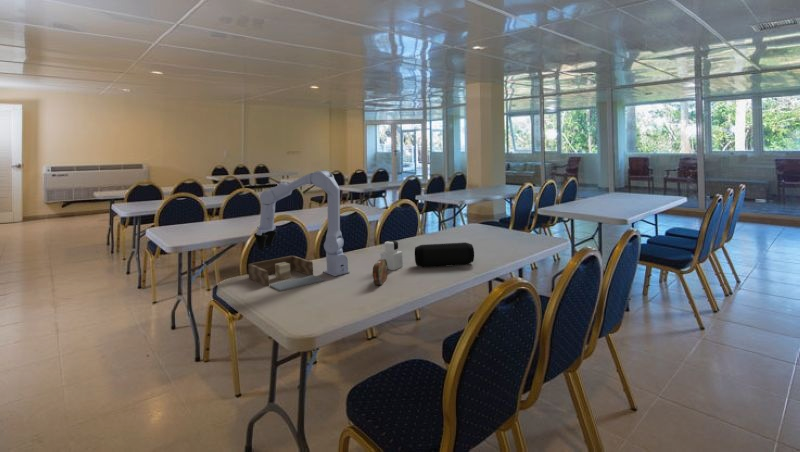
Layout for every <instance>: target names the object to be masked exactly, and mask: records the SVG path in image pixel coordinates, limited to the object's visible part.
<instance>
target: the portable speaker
mask: <svg viewBox="0 0 800 452" xmlns="http://www.w3.org/2000/svg"><path fill="white" fill-rule="evenodd" d="M474 261H475V250H474V245H473V244H472V243H468V242H450V243H433V244H432V243H429V244H428V243H427V244H420V245H417V246H415V248H414V263H415V265H416V266H417V267H421V268H432V267H433V268H435V267H434V266H436V267H447V266H446V265H453V266H465V265H466V264H467V265H469V264H471V263H473V262H474Z"/></svg>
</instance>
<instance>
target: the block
mask: <svg viewBox="0 0 800 452" xmlns="http://www.w3.org/2000/svg"><path fill="white" fill-rule="evenodd" d="M275 272H276V273H275V278H276V279H278V280H280V281H283V280H286V279H287V280H288V279H290V278H292V275H291V270H290V264H289V263H286V262H282V263H277V264H275Z"/></svg>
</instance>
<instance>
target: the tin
mask: <svg viewBox="0 0 800 452" xmlns="http://www.w3.org/2000/svg"><path fill="white" fill-rule="evenodd" d="M388 271H389V269H388V267H387V261H386V259H381V258H379V259H378V260H377V261H376V262H375V264H373V266H372V277H373V284H374V285H375V286H376V285H377V286H383V285H384V283H385V282H386V280H387V279H388V275H389V274H388V273H389V272H388Z"/></svg>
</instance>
